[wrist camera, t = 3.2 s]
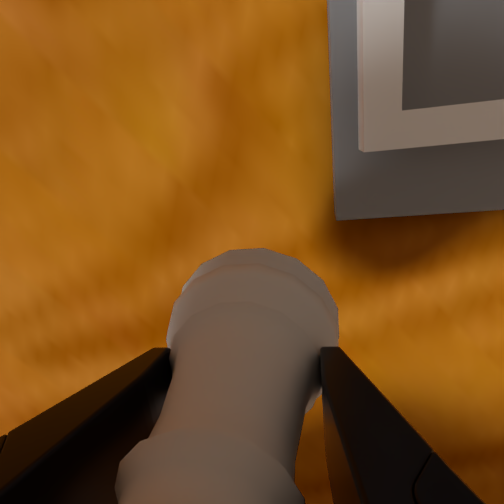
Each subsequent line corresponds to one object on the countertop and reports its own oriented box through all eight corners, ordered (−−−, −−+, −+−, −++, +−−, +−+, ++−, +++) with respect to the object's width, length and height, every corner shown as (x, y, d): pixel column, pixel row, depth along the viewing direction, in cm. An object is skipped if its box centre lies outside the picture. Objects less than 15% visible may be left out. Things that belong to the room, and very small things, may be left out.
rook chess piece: (151, 301, 11) (-208, 707, 3) (269, 208, 9) (106, 552, 2) (249, 404, 11) (137, 930, 4) (371, 333, 10) (555, 945, 3)
